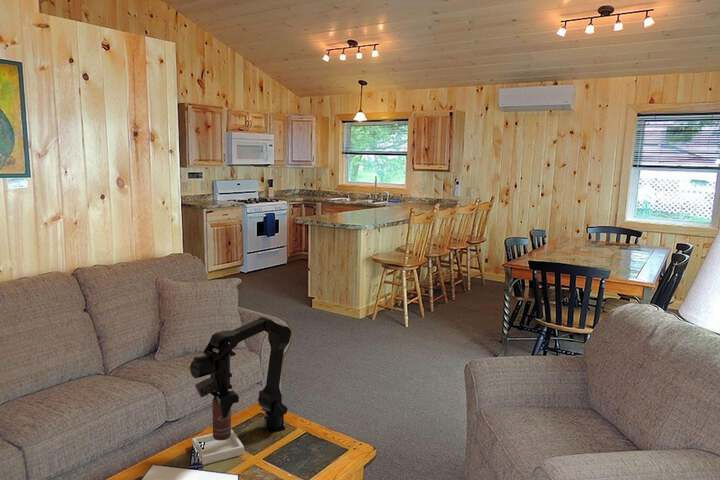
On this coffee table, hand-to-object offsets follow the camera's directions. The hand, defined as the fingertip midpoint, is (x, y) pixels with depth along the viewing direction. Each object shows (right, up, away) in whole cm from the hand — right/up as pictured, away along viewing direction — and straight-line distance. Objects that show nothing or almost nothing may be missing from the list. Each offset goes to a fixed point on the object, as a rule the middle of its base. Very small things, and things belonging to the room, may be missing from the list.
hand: (221, 414), depth 179 cm
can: (0, -8, +1) cm, 8 cm away
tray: (-2, -13, +2) cm, 13 cm away
